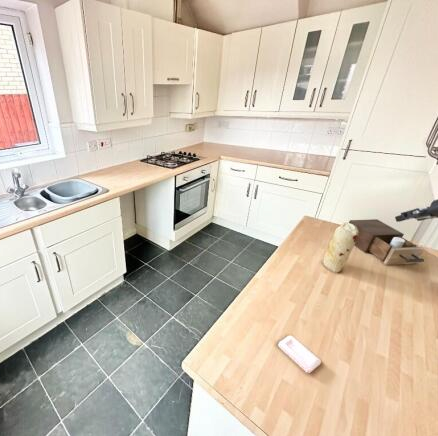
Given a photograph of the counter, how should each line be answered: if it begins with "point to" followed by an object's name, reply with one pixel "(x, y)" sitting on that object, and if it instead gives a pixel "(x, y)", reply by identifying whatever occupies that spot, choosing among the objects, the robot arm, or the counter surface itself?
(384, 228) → the cabinet
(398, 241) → the tube
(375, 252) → the drawer
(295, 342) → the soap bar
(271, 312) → the counter surface
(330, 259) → the food model
